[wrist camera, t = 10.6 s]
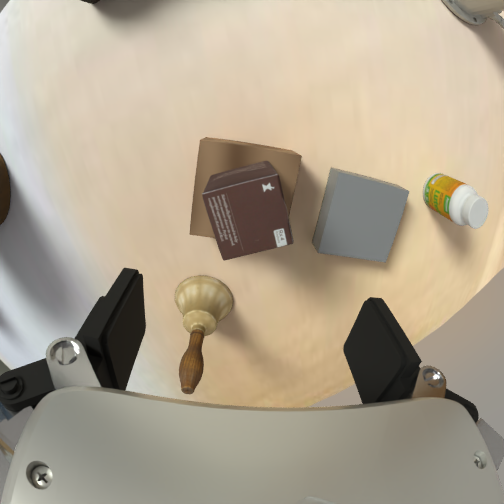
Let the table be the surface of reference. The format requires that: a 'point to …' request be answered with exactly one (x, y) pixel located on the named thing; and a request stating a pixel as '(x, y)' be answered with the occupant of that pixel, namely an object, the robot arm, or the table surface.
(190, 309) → the hand bell
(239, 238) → the box
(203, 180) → the walnut stand
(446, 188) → the supplement bottle
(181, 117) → the table surface
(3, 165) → the wooden container
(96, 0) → the camera
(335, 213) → the block
